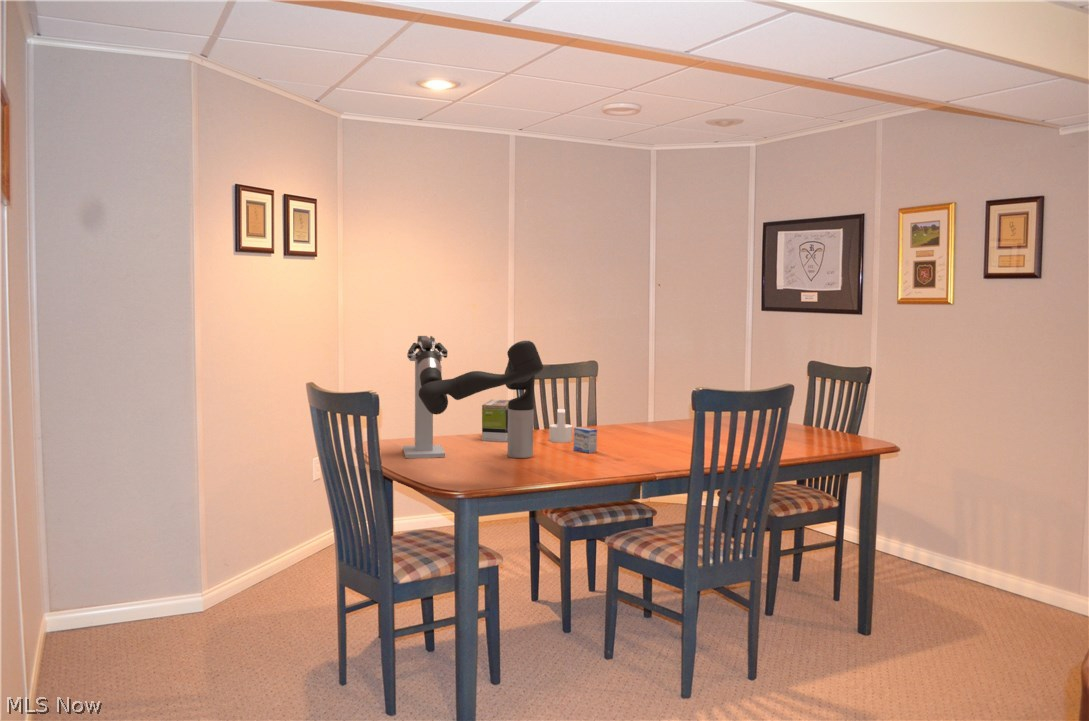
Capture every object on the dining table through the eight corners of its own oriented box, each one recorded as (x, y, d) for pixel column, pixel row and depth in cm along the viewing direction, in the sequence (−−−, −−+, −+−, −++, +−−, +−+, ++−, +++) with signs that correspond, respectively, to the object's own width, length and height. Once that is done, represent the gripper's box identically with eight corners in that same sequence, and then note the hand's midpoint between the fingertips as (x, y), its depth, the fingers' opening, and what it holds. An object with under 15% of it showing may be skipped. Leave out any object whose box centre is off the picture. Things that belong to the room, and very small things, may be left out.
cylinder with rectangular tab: (572, 443, 340) (572, 412, 339) (549, 442, 340) (549, 412, 339) (571, 438, 349) (572, 409, 348) (549, 438, 349) (550, 408, 348)
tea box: (491, 434, 356) (491, 398, 354) (515, 435, 354) (515, 399, 352) (481, 441, 341) (481, 403, 340) (506, 442, 339) (506, 405, 338)
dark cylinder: (432, 348, 291) (432, 340, 291) (423, 348, 290) (423, 340, 290) (426, 342, 317) (426, 335, 317) (417, 342, 316) (417, 335, 316)
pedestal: (445, 457, 308) (445, 356, 305) (405, 458, 305) (405, 356, 302) (440, 448, 324) (441, 352, 321) (402, 449, 321) (403, 352, 318)
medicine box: (573, 450, 325) (573, 427, 324) (580, 449, 328) (581, 426, 327) (589, 453, 320) (589, 430, 319) (596, 452, 323) (597, 429, 322)
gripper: (407, 376, 286) (404, 347, 300) (450, 376, 289) (445, 347, 303) (408, 358, 282) (405, 329, 296) (451, 358, 285) (446, 329, 299)
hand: (425, 338), depth 299 cm, fingers closed on dark cylinder, 3 cm apart
